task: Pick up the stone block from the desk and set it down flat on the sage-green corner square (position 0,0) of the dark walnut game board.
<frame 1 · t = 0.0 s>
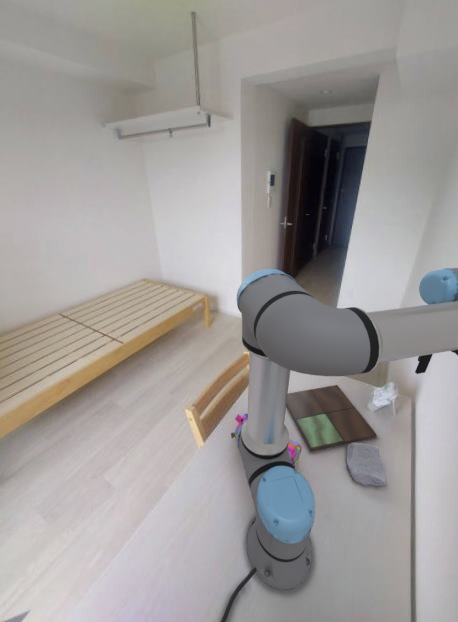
hand: (440, 389, 72), 28 cm above the table, tool pointing down, fingers open, 13 cm apart
board: (324, 415, 99), on the table
stone block: (362, 466, 83), on the table
pencil case: (264, 450, 88), on the table
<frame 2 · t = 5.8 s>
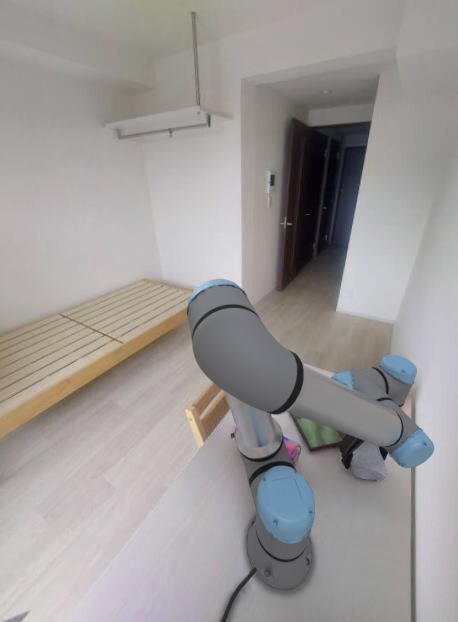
hand: (362, 460, 80), 3 cm above the table, tool pointing down, fingers closed on stone block, 11 cm apart
stone block: (361, 460, 81), point 3 cm above the table, touching gripper
everything else where it was.
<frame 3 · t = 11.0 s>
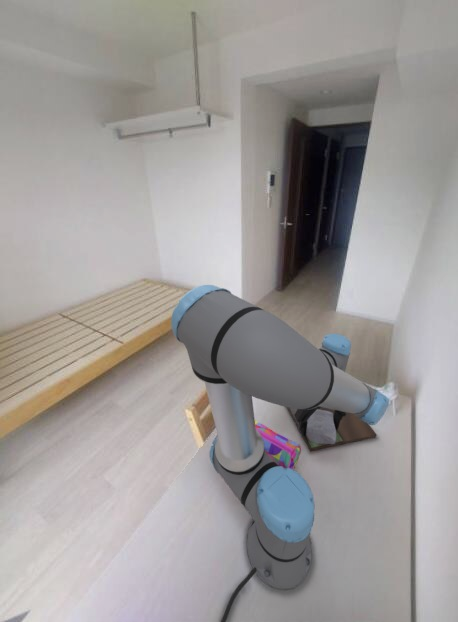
hand: (318, 429, 92), 2 cm above the table, tool pointing down, fingers closed on stone block, 11 cm apart
stone block: (317, 429, 93), point 1 cm above the table, touching board, gripper
everything else where it was.
when the fingers open (2 cm above the table, at t = 11.5 s): stone block stays where it is, resting on board.
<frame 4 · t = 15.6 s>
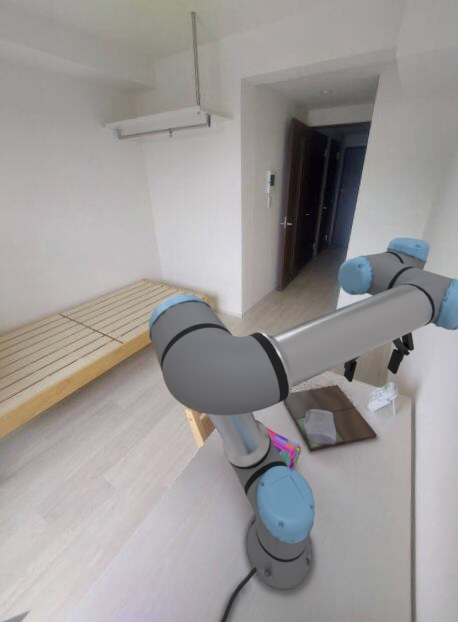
hand: (370, 374, 74), 31 cm above the table, tool pointing down, fingers open, 13 cm apart
stone block: (317, 429, 93), point 1 cm above the table, touching board
everything else where it was.
at the end: stone block inside the target area on the board (0.4 cm from its centre), point 1.4 cm above the board's base; stone block tilted 1°; the gripper is holding nothing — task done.
